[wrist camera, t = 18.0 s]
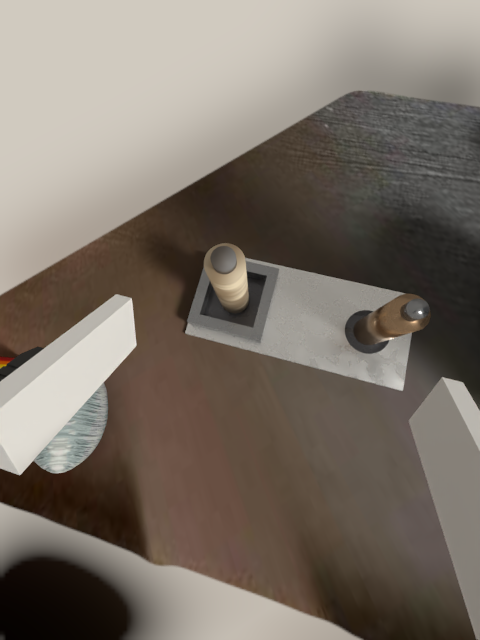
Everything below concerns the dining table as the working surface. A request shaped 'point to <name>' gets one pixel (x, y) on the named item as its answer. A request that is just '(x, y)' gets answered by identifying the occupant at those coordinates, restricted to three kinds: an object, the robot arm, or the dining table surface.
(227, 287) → the birch leg peg
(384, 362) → the bolt plate
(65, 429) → the spool
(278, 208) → the dining table surface
